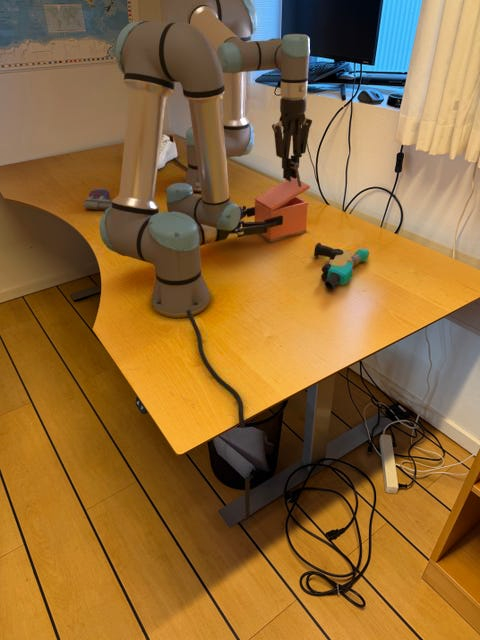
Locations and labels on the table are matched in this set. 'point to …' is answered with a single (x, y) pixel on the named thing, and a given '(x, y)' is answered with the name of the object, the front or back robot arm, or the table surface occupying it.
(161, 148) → the sneaker
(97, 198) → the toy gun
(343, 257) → the toy gun
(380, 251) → the table surface
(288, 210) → the chest
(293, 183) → the lid
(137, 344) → the table surface
